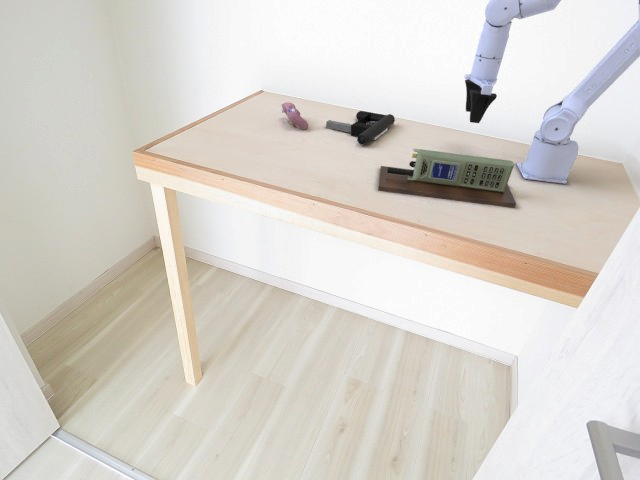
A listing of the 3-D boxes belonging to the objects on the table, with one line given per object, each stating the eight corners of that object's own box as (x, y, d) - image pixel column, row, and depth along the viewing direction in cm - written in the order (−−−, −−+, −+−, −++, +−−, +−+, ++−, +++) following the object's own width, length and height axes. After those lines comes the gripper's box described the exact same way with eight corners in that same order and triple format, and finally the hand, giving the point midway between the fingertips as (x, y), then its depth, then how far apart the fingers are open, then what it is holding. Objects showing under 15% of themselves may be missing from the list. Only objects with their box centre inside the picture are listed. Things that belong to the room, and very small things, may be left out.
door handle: (315, 125, 110) (371, 136, 103) (349, 105, 124) (400, 114, 117) (315, 137, 111) (370, 149, 105) (348, 116, 126) (399, 126, 119)
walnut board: (505, 184, 93) (506, 181, 93) (514, 207, 85) (516, 203, 85) (380, 169, 96) (380, 165, 96) (378, 190, 88) (378, 186, 87)
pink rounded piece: (287, 123, 121) (276, 101, 116) (300, 115, 120) (290, 93, 116) (295, 136, 113) (284, 114, 109) (310, 128, 113) (299, 105, 108)
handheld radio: (504, 194, 88) (386, 178, 90) (502, 187, 90) (386, 172, 93) (515, 165, 84) (391, 149, 87) (511, 159, 87) (391, 143, 89)
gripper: (466, 47, 98) (452, 105, 106) (475, 61, 86) (458, 125, 94) (497, 50, 97) (480, 108, 105) (510, 65, 86) (490, 129, 93)
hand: (472, 116), depth 100 cm, fingers open, 7 cm apart
